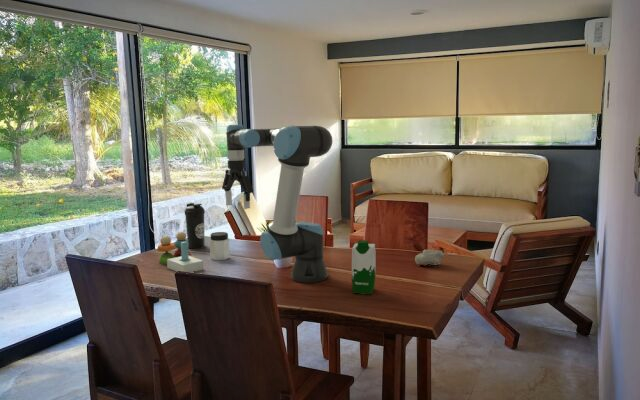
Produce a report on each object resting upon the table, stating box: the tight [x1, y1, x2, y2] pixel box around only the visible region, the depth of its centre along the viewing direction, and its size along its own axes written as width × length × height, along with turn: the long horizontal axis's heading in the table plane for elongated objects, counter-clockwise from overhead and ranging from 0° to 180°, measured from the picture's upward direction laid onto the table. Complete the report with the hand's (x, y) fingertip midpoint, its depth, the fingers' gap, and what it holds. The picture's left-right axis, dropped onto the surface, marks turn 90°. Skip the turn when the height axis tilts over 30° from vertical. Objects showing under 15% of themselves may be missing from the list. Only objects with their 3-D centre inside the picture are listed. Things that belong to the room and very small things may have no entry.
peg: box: [180, 242, 189, 262], centre depth 230 cm, size 3×3×12 cm
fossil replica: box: [414, 249, 445, 265], centre depth 231 cm, size 12×8×10 cm
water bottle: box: [184, 202, 206, 250], centre depth 269 cm, size 10×10×23 cm
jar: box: [209, 231, 230, 261], centre depth 247 cm, size 9×8×12 cm
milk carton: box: [351, 239, 377, 295], centre depth 196 cm, size 9×9×20 cm
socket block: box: [166, 255, 205, 273], centre depth 231 cm, size 14×10×4 cm
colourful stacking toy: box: [157, 231, 196, 265], centre depth 246 cm, size 18×17×12 cm
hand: (237, 206), depth 233 cm, fingers open, 13 cm apart
